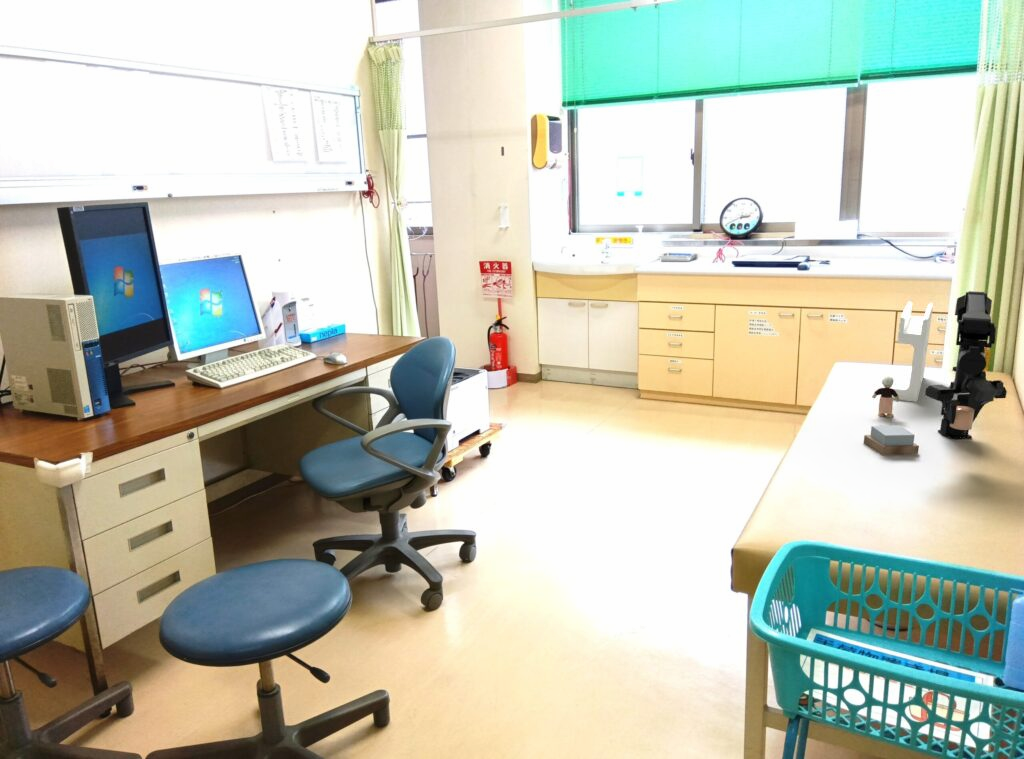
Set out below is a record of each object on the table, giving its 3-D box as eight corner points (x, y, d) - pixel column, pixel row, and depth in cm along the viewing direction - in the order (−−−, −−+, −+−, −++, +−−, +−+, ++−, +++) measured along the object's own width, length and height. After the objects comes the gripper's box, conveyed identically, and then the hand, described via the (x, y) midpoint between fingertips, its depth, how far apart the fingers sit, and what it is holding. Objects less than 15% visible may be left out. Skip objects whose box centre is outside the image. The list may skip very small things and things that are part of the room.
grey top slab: (898, 435, 214) (899, 425, 213) (913, 445, 206) (914, 434, 206) (870, 435, 214) (871, 425, 213) (883, 445, 206) (885, 435, 206)
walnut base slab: (897, 443, 216) (898, 433, 216) (917, 456, 207) (918, 445, 206) (863, 444, 216) (864, 435, 215) (882, 457, 206) (883, 447, 205)
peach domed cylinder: (963, 423, 201) (966, 405, 199) (976, 429, 196) (979, 411, 194) (945, 424, 200) (948, 406, 199) (958, 430, 195) (960, 412, 194)
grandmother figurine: (896, 414, 240) (901, 376, 236) (897, 418, 236) (902, 379, 233) (869, 412, 242) (874, 374, 239) (870, 416, 239) (875, 377, 235)
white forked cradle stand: (916, 401, 253) (927, 319, 245) (890, 398, 257) (900, 317, 249) (923, 377, 282) (933, 303, 274) (899, 374, 286) (908, 301, 278)
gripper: (956, 375, 185) (947, 435, 189) (1027, 371, 187) (1017, 431, 191) (927, 363, 196) (920, 421, 200) (995, 361, 197) (986, 417, 202)
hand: (961, 423), depth 198 cm, fingers closed on peach domed cylinder, 5 cm apart
